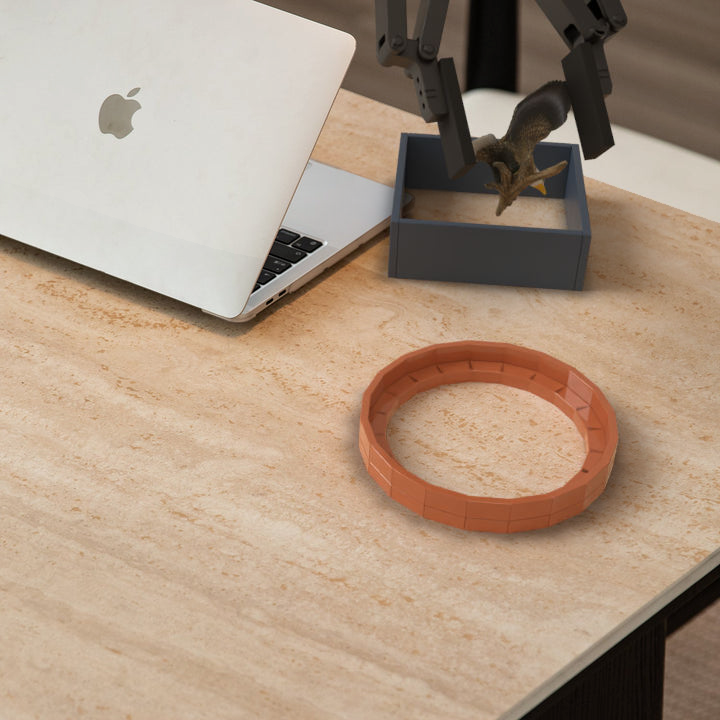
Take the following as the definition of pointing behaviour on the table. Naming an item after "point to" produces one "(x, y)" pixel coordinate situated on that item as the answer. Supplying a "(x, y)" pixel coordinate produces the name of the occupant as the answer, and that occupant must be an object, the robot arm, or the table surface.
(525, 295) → the table surface
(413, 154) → the bin
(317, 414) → the table surface
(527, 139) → the eagle figurine
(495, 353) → the faceted orange ring
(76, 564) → the table surface
